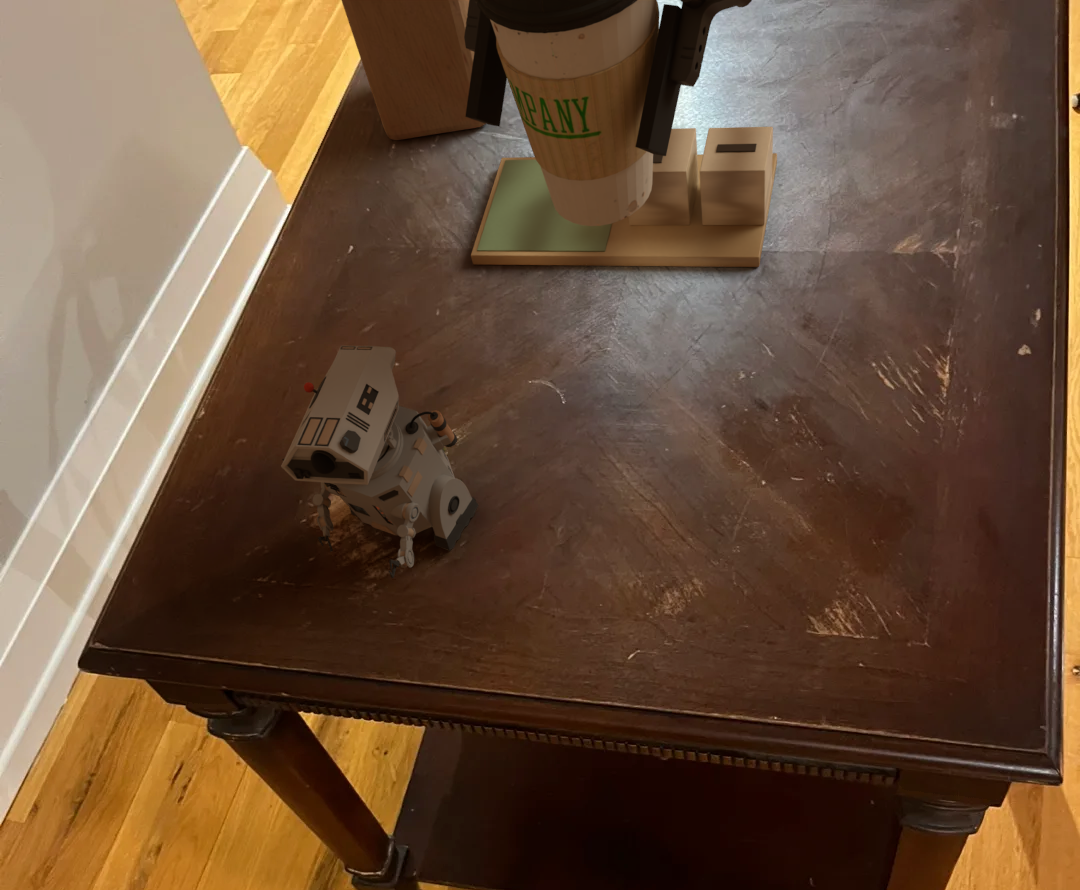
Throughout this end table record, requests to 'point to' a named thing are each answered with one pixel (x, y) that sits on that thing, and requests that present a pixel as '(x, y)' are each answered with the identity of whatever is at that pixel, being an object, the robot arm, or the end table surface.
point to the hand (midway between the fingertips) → (564, 136)
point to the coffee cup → (582, 97)
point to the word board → (651, 243)
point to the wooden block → (415, 63)
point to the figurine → (378, 455)
